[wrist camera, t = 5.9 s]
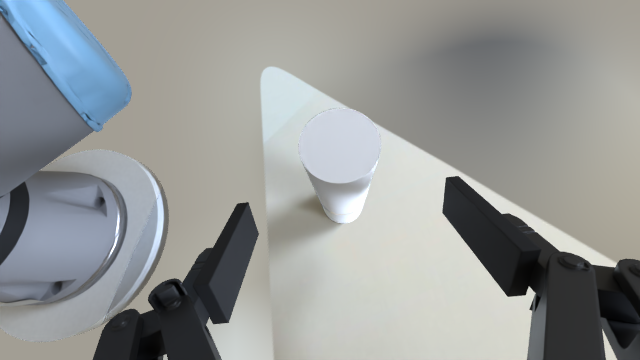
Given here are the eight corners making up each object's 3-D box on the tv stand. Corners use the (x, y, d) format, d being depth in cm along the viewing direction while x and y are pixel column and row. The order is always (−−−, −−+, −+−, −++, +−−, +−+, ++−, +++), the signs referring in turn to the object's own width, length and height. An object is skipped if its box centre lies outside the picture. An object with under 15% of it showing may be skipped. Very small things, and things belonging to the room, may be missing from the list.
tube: (367, 192, 27) (392, 121, 13) (354, 229, 26) (364, 195, 12) (331, 179, 28) (317, 99, 14) (317, 214, 27) (285, 166, 13)
